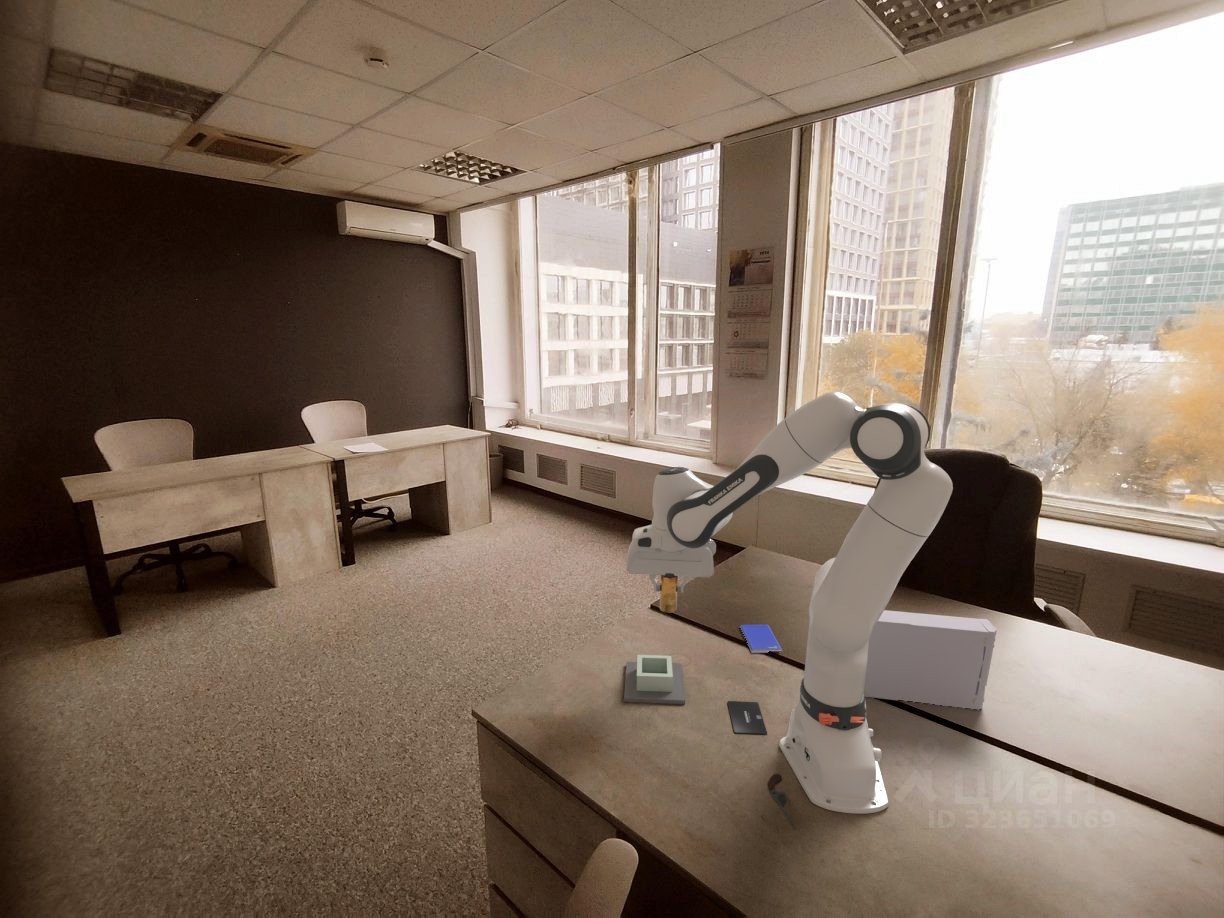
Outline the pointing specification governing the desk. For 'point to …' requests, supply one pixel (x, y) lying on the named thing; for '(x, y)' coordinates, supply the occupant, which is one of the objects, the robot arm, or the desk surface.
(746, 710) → the solid state drive
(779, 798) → the dark curved piece
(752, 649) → the hard drive
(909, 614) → the game console
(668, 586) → the bottle
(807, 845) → the desk surface
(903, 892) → the desk surface
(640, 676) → the docking plate
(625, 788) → the desk surface
